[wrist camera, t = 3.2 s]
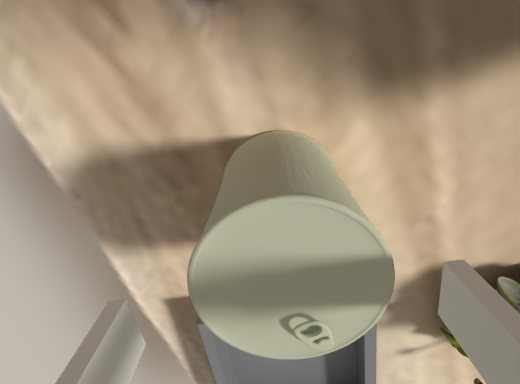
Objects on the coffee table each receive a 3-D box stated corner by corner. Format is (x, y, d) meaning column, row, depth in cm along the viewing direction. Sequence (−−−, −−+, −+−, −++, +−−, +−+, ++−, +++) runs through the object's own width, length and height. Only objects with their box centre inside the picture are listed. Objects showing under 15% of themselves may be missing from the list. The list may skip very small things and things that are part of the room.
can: (257, 252, 26) (251, 391, 15) (199, 166, 23) (137, 262, 12) (355, 208, 24) (430, 330, 13) (306, 106, 21) (350, 156, 10)
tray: (204, 294, 28) (196, 324, 25) (363, 277, 27) (376, 306, 24) (234, 392, 34) (230, 427, 31) (365, 382, 33) (375, 417, 30)
